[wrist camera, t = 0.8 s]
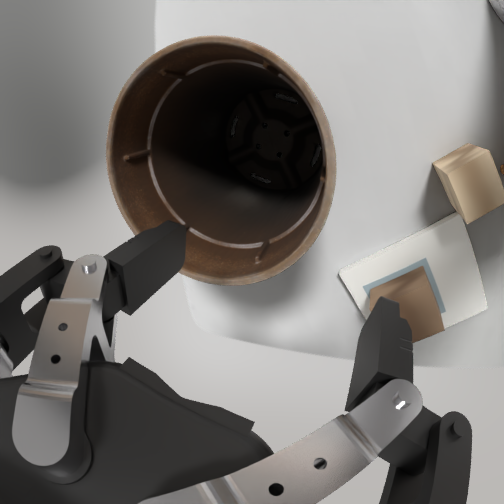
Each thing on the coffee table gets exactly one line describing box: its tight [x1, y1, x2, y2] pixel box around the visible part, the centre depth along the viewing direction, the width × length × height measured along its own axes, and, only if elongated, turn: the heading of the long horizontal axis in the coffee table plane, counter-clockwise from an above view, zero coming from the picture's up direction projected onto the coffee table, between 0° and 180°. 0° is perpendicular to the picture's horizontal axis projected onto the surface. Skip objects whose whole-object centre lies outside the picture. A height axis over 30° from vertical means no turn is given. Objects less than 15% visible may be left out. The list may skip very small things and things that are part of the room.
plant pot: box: [106, 35, 336, 286], centre depth 23 cm, size 16×16×16 cm
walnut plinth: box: [369, 266, 445, 343], centre depth 29 cm, size 7×7×4 cm
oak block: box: [432, 143, 504, 224], centre depth 21 cm, size 5×5×6 cm
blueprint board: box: [339, 211, 488, 329], centre depth 30 cm, size 16×14×1 cm
